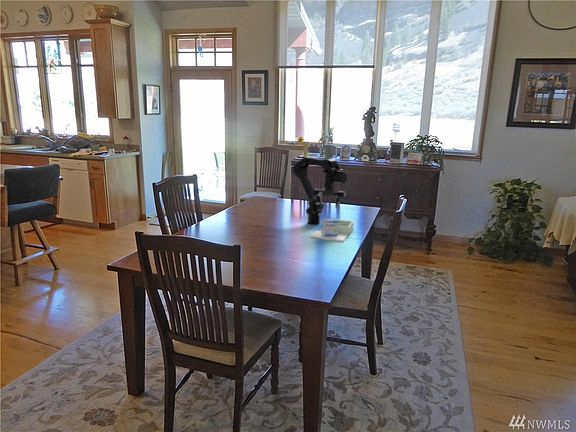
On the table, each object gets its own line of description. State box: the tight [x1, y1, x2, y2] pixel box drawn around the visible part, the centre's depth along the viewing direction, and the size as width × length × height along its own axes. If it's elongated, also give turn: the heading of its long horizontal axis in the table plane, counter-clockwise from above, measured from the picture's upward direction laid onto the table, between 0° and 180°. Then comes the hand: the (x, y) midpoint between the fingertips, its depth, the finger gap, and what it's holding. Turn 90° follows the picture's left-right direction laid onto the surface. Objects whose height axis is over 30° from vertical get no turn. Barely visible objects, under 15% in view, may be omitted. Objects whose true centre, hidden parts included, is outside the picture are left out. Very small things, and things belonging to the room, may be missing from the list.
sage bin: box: [335, 218, 355, 237], centre depth 234 cm, size 15×14×5 cm
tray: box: [310, 230, 349, 243], centre depth 224 cm, size 18×11×1 cm, turn 70°
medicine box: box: [321, 218, 339, 237], centre depth 223 cm, size 8×4×9 cm, turn 106°
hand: (328, 207), depth 240 cm, fingers open, 9 cm apart
